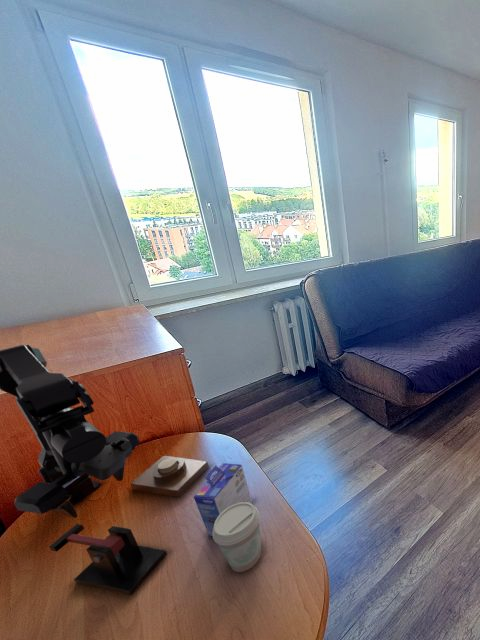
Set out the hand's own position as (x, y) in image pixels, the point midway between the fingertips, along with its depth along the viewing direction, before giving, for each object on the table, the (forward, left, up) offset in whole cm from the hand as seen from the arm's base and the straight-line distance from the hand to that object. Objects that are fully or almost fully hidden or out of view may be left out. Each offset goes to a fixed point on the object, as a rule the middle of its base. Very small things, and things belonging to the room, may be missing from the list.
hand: (98, 497), depth 71 cm
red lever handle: (+2, -5, -7) cm, 9 cm away
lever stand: (+8, -5, -12) cm, 16 cm away
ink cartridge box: (+22, +9, -13) cm, 27 cm away
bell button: (-2, +17, -9) cm, 19 cm away
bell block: (-2, +17, -12) cm, 21 cm away
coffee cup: (+32, +1, -13) cm, 34 cm away
